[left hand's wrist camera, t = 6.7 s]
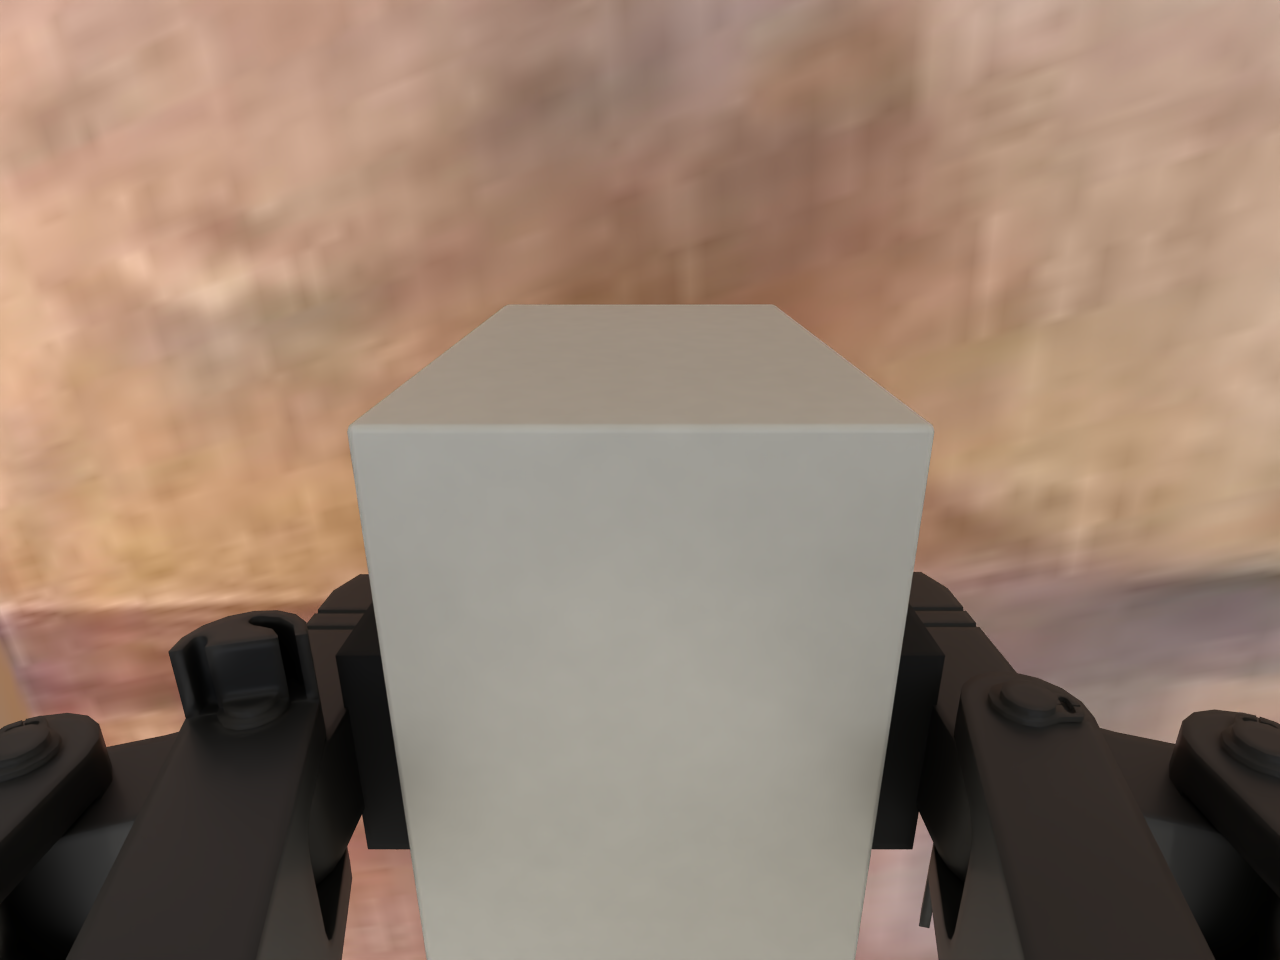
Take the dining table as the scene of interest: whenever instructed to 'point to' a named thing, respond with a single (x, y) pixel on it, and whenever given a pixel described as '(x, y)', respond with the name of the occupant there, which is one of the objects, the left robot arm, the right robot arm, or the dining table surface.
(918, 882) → the dining table surface
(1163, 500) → the dining table surface
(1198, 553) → the dining table surface
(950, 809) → the left robot arm
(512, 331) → the post
